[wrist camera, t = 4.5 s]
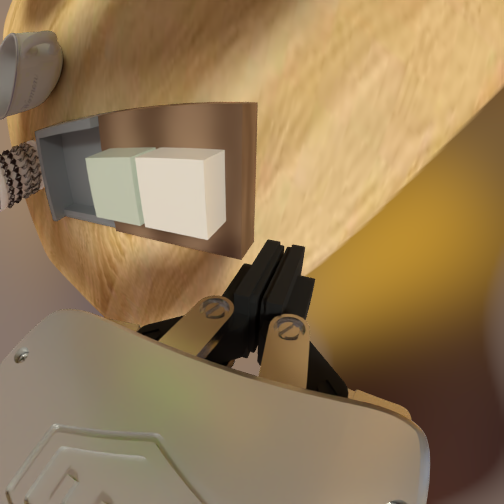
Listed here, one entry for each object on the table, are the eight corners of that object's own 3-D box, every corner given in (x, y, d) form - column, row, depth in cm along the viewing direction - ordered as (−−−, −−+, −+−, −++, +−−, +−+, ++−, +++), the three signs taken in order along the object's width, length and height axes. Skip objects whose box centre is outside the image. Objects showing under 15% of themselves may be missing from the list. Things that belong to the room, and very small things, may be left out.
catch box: (120, 110, 22) (89, 117, 19) (134, 218, 29) (110, 235, 25) (59, 122, 25) (34, 131, 22) (74, 207, 32) (53, 220, 29)
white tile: (224, 149, 18) (203, 160, 16) (226, 221, 21) (207, 240, 19) (160, 147, 19) (135, 157, 17) (166, 210, 22) (145, 226, 20)
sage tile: (155, 147, 20) (130, 157, 17) (162, 210, 23) (140, 226, 20) (109, 148, 21) (85, 158, 19) (118, 203, 24) (96, 217, 22)
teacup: (36, 110, 25) (-9, 127, 19) (34, 44, 20) (-11, 53, 13) (89, 88, 21) (27, 102, 15) (90, 5, 16) (31, 4, 9)
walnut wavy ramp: (257, 102, 18) (242, 104, 16) (253, 241, 25) (241, 259, 22) (120, 110, 22) (97, 115, 20) (134, 218, 29) (116, 230, 26)
